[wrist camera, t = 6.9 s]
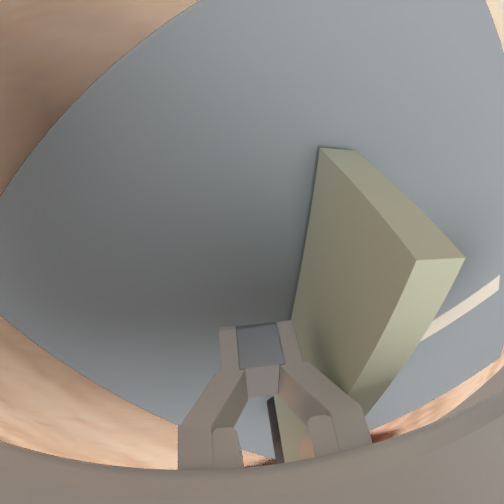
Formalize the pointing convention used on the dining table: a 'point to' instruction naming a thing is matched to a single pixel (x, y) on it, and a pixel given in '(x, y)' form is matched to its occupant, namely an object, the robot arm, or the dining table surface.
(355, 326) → the fence gate
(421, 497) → the robot arm
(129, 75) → the board
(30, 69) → the dining table surface
